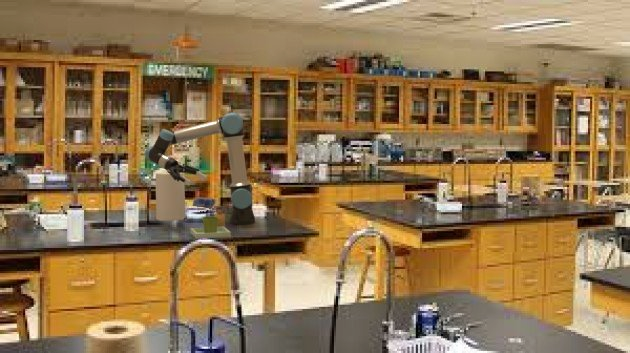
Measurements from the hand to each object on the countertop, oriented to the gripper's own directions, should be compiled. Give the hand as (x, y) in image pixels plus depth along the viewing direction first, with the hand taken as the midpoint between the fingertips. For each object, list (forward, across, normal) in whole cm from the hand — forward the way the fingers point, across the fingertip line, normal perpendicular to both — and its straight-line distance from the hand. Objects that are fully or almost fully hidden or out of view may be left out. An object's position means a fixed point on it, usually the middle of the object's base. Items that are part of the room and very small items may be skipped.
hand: (198, 181), depth 375 cm
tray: (+24, +11, -18) cm, 32 cm away
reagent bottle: (+19, -5, -22) cm, 30 cm away
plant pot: (+23, +10, -18) cm, 31 cm away
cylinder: (-26, -24, -45) cm, 57 cm away
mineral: (-22, -53, -47) cm, 74 cm away
